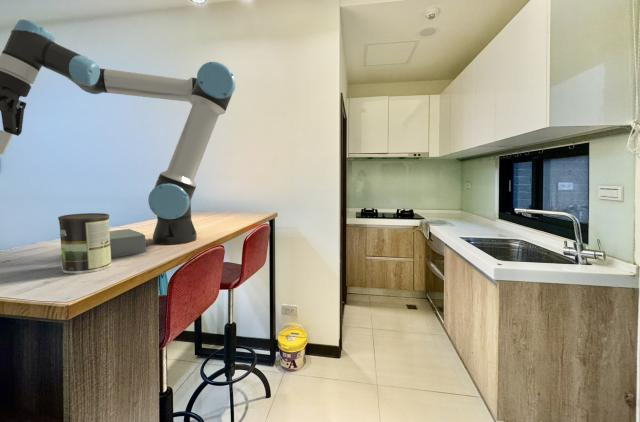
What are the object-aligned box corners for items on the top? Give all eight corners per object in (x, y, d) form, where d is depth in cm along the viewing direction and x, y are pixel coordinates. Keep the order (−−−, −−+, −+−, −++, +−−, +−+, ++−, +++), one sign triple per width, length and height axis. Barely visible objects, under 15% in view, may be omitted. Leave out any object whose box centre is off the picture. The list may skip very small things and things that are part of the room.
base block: (130, 245, 101) (129, 228, 100) (145, 252, 93) (144, 233, 92) (83, 252, 91) (82, 233, 90) (96, 260, 83) (95, 240, 82)
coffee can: (61, 277, 69) (56, 219, 67) (63, 266, 77) (59, 214, 75) (114, 269, 76) (110, 216, 74) (110, 260, 84) (107, 212, 82)
